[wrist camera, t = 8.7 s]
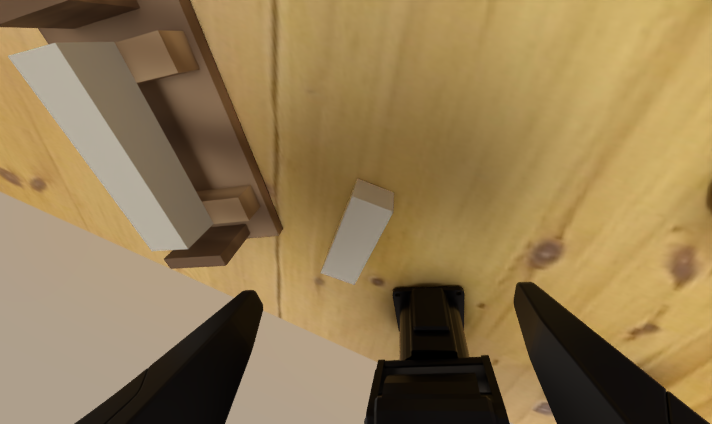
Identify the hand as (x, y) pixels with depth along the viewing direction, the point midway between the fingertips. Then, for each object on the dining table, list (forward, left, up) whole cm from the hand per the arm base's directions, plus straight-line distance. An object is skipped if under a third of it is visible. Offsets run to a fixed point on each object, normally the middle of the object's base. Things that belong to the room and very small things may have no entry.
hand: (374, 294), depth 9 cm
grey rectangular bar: (+4, +15, -9) cm, 18 cm away
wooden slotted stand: (+4, +15, -12) cm, 20 cm away
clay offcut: (-5, +3, -9) cm, 11 cm away
